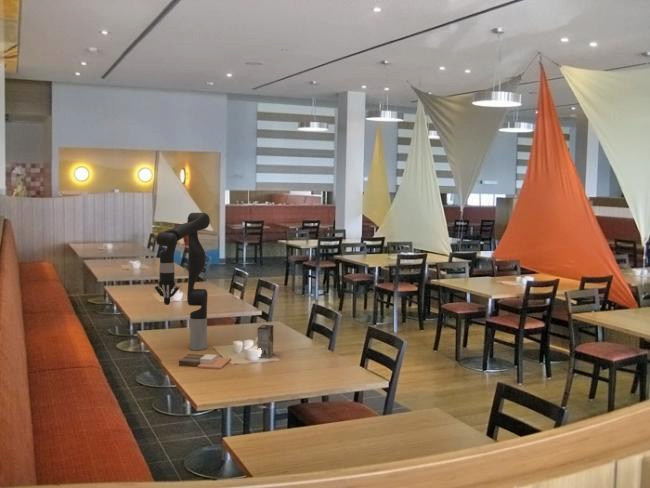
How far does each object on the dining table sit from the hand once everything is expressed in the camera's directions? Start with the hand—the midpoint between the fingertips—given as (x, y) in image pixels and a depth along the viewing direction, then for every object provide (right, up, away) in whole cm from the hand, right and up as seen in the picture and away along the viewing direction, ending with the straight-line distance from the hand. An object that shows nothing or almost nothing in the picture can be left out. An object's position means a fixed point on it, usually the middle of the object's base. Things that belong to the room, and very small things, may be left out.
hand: (167, 304), depth 354 cm
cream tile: (+22, -29, -4) cm, 36 cm away
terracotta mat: (+25, -30, -4) cm, 39 cm away
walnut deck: (+14, -30, -2) cm, 33 cm away
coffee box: (+50, -29, +14) cm, 59 cm away
